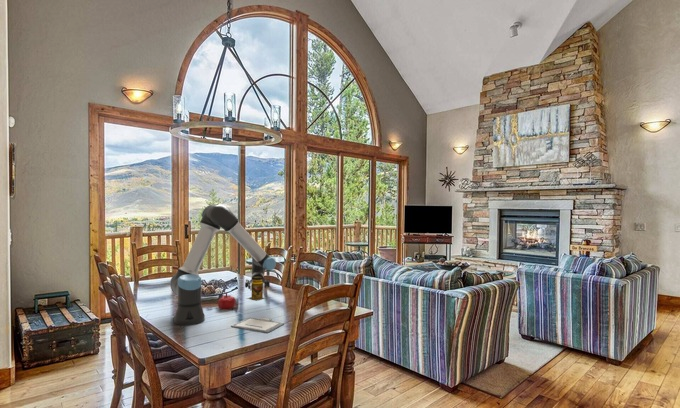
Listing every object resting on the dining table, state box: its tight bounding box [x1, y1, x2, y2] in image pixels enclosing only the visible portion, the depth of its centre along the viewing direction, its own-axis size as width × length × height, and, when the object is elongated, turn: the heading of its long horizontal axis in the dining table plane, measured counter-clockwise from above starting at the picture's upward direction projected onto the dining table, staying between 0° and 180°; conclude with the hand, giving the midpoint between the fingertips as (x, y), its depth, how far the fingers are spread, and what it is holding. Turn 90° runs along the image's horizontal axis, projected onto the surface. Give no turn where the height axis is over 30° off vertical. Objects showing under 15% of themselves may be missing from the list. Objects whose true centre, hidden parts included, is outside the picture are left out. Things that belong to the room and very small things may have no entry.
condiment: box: [245, 276, 266, 302], centre depth 214 cm, size 7×8×12 cm
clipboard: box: [230, 317, 285, 334], centre depth 198 cm, size 22×15×2 cm
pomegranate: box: [217, 292, 237, 310], centre depth 228 cm, size 10×10×9 cm
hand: (257, 287), depth 209 cm, fingers closed on condiment, 6 cm apart
